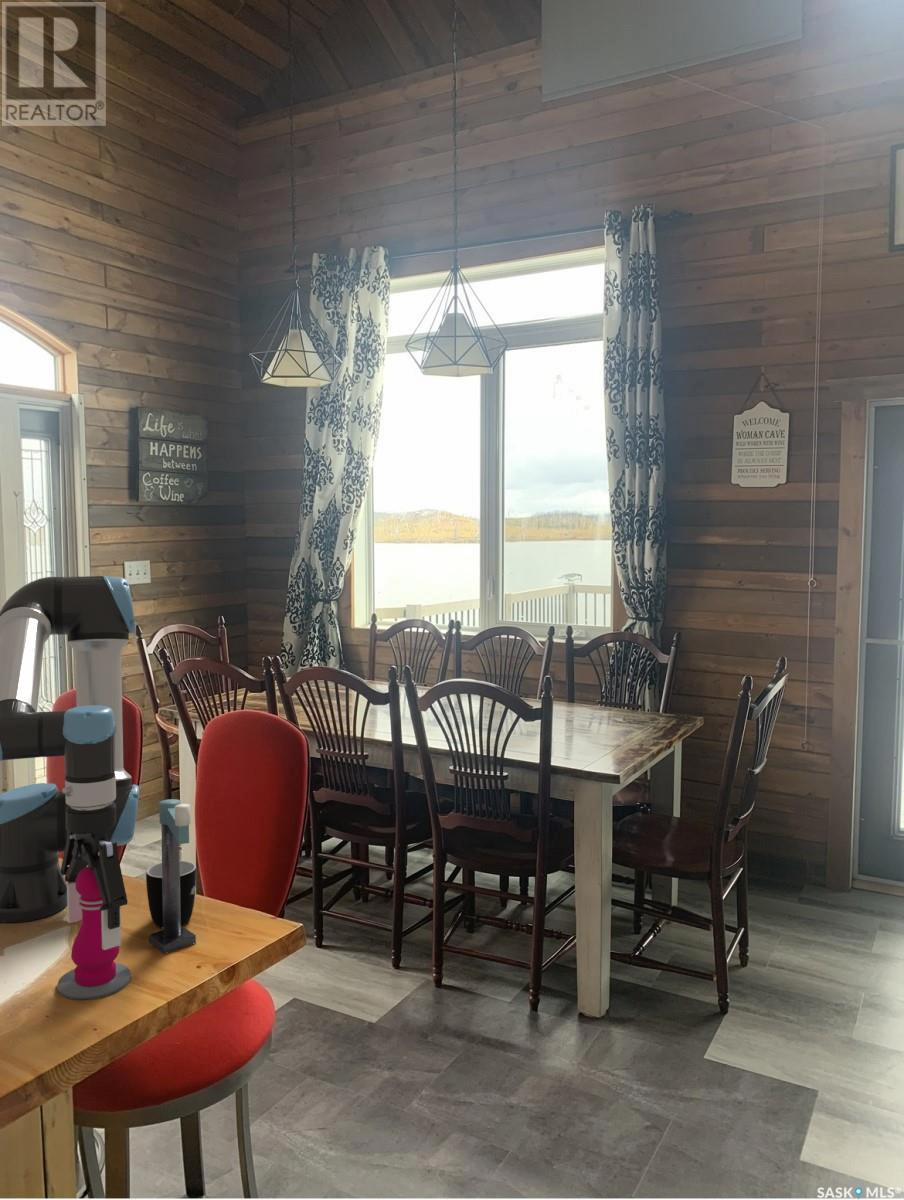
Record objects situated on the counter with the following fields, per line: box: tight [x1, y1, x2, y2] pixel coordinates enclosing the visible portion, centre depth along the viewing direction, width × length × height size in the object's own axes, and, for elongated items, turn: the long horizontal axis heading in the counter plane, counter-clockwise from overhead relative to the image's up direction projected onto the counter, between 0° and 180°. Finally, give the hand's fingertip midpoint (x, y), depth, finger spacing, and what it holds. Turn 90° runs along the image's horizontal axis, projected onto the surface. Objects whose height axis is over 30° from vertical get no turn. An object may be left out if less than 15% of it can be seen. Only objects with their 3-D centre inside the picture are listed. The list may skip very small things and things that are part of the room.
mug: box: [145, 860, 197, 928], centre depth 173 cm, size 12×9×10 cm
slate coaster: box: [57, 962, 132, 1001], centre depth 148 cm, size 11×11×1 cm
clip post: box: [147, 824, 197, 955], centre depth 162 cm, size 6×6×22 cm
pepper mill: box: [70, 865, 120, 986], centre depth 147 cm, size 7×7×20 cm
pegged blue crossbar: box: [158, 798, 191, 845], centre depth 156 cm, size 15×4×6 cm, turn 27°
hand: (93, 933), depth 147 cm, fingers open, 13 cm apart
